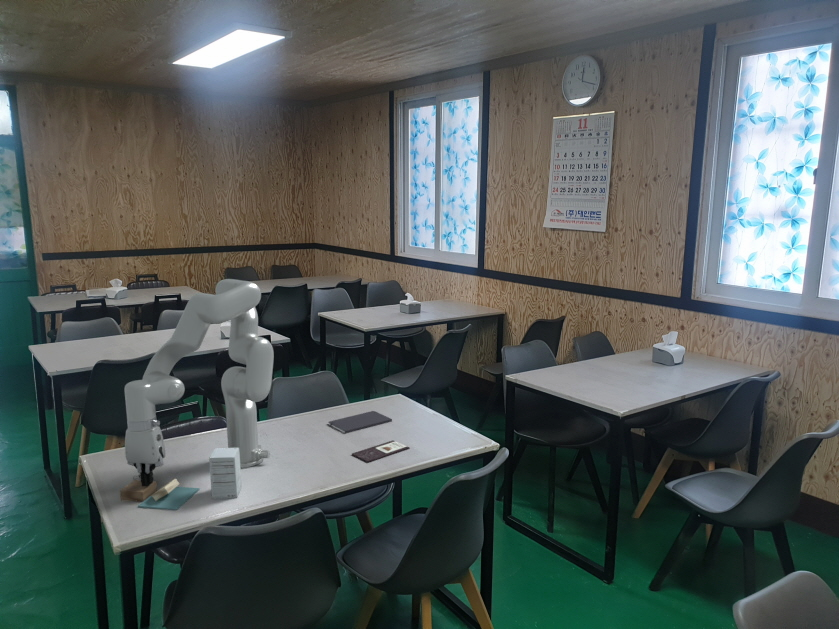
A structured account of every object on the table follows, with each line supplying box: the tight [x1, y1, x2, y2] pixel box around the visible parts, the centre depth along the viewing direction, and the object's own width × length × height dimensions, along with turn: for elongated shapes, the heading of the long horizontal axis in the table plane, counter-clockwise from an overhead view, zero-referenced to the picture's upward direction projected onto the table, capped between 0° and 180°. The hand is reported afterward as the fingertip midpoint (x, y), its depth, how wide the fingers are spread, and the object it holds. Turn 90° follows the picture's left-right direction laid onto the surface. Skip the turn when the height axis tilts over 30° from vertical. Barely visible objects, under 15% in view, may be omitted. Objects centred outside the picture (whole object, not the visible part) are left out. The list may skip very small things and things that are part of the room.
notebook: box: [328, 410, 393, 434], centre depth 244 cm, size 13×2×21 cm
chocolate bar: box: [351, 440, 410, 464], centre depth 216 cm, size 9×1×18 cm
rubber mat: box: [137, 485, 201, 511], centre depth 183 cm, size 12×13×1 cm
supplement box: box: [208, 447, 243, 500], centre depth 185 cm, size 7×7×13 cm
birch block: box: [152, 478, 180, 501], centre depth 182 cm, size 5×6×2 cm
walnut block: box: [119, 479, 158, 503], centre depth 184 cm, size 7×7×3 cm
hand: (147, 484), depth 183 cm, fingers closed
